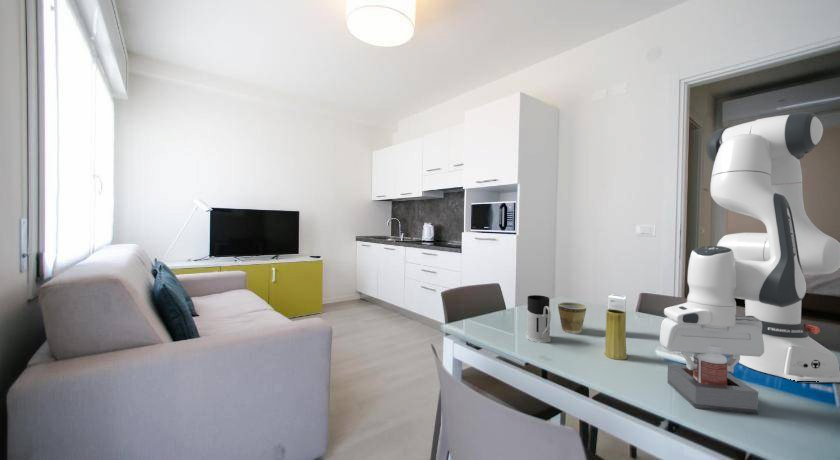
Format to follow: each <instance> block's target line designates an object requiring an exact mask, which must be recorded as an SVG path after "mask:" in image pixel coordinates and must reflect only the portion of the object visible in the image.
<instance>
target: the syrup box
mask: <svg viewBox="0 0 840 460" xmlns="http://www.w3.org/2000/svg"><path fill="white" fill-rule="evenodd" d="M607 301H608V302H607V303H608V306H607V307H608V309H616V310H621V311H624V312H626V313H627V296H626V295H622V294H621V295H619V294H612V293H609V294H608V299H607ZM608 309H607V310H608Z"/></svg>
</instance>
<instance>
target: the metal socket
mask: <svg viewBox="0 0 840 460" xmlns="http://www.w3.org/2000/svg"><path fill="white" fill-rule="evenodd" d="M667 384H668V385H669V386H671V388H672V389H674V390H675V392H677V393H678V394H679V395H680V396H682V398H684V399H685V401H687V402H688V403H689V404H690V405H691V406H693V408H694V409H701V410H712V411H721V412H722V411H723V412H731V413H740V414H741V413H742V414H752V415H758V414H759V391H757V390H756V389H754V388H753V387H752V386H749V385H748V384H746V383H745V382H743V381H742V380H741V379H739V378H738V377H736V376H734V375H733V374H732V373H727V385H716V384H704V383H699V382H698V381H697V380H696V379H694V378H693V370H689V369H688V368H687V366H686V365H684V364H675V363H674V364H671V363H667Z"/></svg>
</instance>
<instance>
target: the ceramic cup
mask: <svg viewBox="0 0 840 460" xmlns="http://www.w3.org/2000/svg"><path fill="white" fill-rule="evenodd" d="M557 308H558V314H559V320H560V325H561V330H563V332H565V333H568V334H573V335H574V334H575V335H576V334H577V335H578V334H580V333H581V332H582V330H583V326H584V320H585V317H586V312H587V306H586V305H585V304H582V303H579V302H578V303H577V302H568V301H567V302H565V301H564V302H559V303H557Z"/></svg>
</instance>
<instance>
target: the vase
mask: <svg viewBox="0 0 840 460" xmlns="http://www.w3.org/2000/svg"><path fill="white" fill-rule="evenodd" d="M605 317H606V318H605V319H606V321H605V339H604V340H605V342H604V343H605V345H604V348H605V349H604V356H606V357H607V358H610V359H611V360H612V359H613V360H618V361H620V360H621V361H624V360H627V358H628V356H627V355H628V354H627V336H626V335H627V334H626V333H627V332H626V330H627V329H626V326H627V321H626V319H627V311H626V312H624V311H621V310H616V309H606V316H605Z"/></svg>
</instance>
